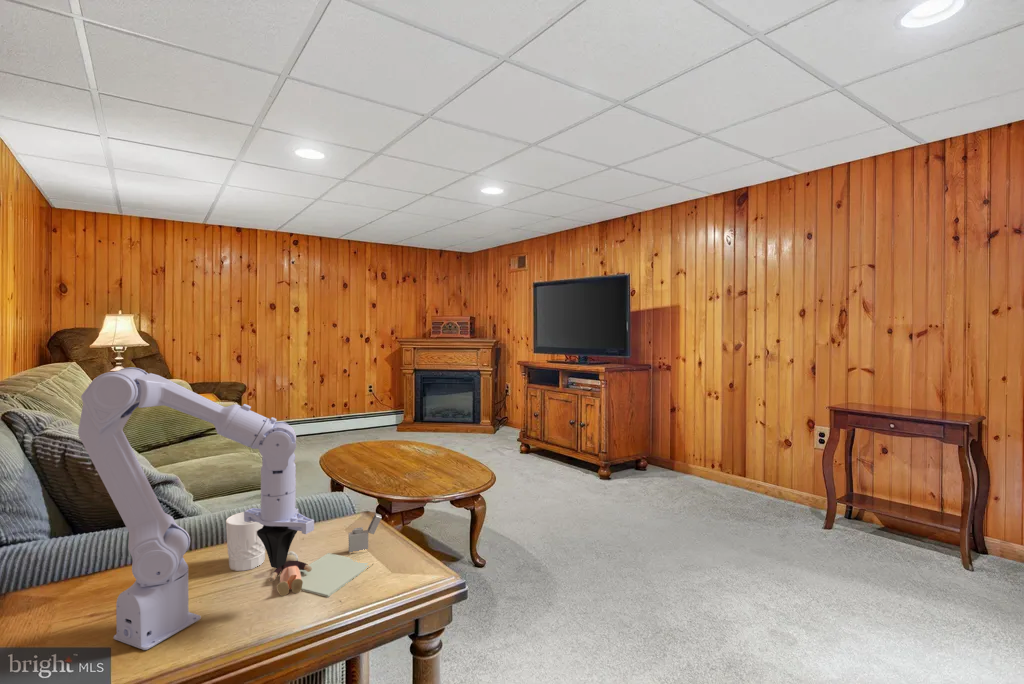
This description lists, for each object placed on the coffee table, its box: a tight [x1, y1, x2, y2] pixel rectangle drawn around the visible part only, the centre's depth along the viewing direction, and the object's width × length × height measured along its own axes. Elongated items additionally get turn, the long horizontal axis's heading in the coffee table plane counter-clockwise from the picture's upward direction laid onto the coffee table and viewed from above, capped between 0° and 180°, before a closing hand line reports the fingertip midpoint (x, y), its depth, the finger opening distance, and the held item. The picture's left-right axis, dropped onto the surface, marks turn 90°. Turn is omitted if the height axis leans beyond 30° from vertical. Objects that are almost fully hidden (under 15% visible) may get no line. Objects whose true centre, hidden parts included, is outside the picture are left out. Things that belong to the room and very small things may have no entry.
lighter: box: [348, 513, 382, 553], centre depth 115 cm, size 7×2×8 cm, turn 114°
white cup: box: [225, 511, 266, 572], centre depth 108 cm, size 8×8×10 cm
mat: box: [278, 552, 369, 598], centre depth 104 cm, size 14×12×1 cm
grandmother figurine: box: [268, 550, 312, 597], centre depth 102 cm, size 8×4×13 cm
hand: (278, 565), depth 92 cm, fingers closed
